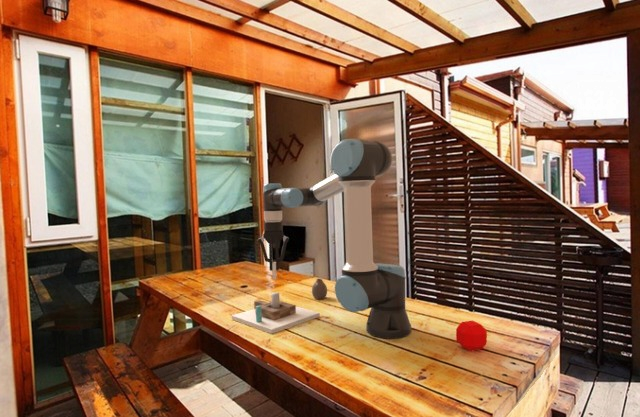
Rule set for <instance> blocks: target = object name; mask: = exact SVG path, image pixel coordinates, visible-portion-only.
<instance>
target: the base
mask: <svg viewBox="0 0 640 417" xmlns="http://www.w3.org/2000/svg"><path fill="white" fill-rule="evenodd" d="M270 300H271V308H273V309H276V308H279V307H280V301H281V300H280V292H272V293H271V294H270ZM319 317H321V316H320V312H318V311H314V310H310V309H307V308H303V307H300V306H296V313H294V314H291V315H288V316H285V317H282V318H279V319H276V320H272V319H269V318H265V317H262V311H261V306H256V312H255V309H254V308H253V309H250V310H246V311H243V312H239V313H236V314H232V315H231V320H232V321H234V322H235V321H236V322H238V323H241V324H244V325H246V326H248V327H252V328H254V329H257V330H259V331H263V332H266V333H268V334H274V333H277V332H281V331H284V330H286V329H289V328H292V327H294V326H297V325H300V324H303V323H306V322H309V321H311V320H315V319H317V318H319Z"/></svg>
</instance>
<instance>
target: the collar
mask: <svg viewBox="0 0 640 417" xmlns="http://www.w3.org/2000/svg"><path fill="white" fill-rule="evenodd" d="M253 303H254V304H253V307H254V308H253V309H255V312H256V306H261V311H262V317H265V318H269V319H272V320H276V319H279V318H282V317H285V316H288V315H291V314H294V313H296V307H297V306H296V304H292V303H288V302H284V301H281V300H280V307H279V308H276V309H273V308H271V302H270V301H269V302H267V301H264V300H261V299H257V300H254V301H253Z"/></svg>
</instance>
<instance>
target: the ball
mask: <svg viewBox="0 0 640 417" xmlns="http://www.w3.org/2000/svg"><path fill="white" fill-rule="evenodd" d="M487 336H488V331H487V329H486V328H485V326H483V325H482V324H481V323H480V322H476V321H475V320H465V321H461V322H460V323H459V324H458V326H457V327H456V330H455V338H456V339H455V341H456V342H457V343H458V344H459V345H460V346H461V347H462V346H463V348H464V349H466V350H468V351H469V350H470V351H469V352H473V351H472V350H474V351H478V350H477V349H480V350H482V349H483V348H484V347H486V346H487V341H488V340H487V338H488V337H487Z"/></svg>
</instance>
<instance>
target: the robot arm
mask: <svg viewBox="0 0 640 417" xmlns="http://www.w3.org/2000/svg"><path fill="white" fill-rule="evenodd" d="M329 162H330V164H329V165H330V169H331V171H332V172H333V174H332V175H330V176H328V177H326V178H324V179H323V180H321V181H319V182H317V183H316V184H314V185H312V186H310V187H285V188H284V187H283V186H282V184H281V183H280V182H279V183H265V184H263V188H262V189H263V192H262V196H263V198H262V200H263V221H264V222H263V231H264V232H263V234H262V236H261V237H259V238H258V239H257V242H258V244H260V247H261V252H262V255H263V257H264V261H265V262H267V263H268V264H269V271H272V272H271V273H272V280H277V271H279V270H280V263H281V262H282V261H284V258H285V252H286V248H287V245H288V244H287V243H288V242H289V241H290V238H289V237H288V236H286V235H285V234H284V231H283V227H284V226H283V221H282V220H283V208H289V209H294V208H299V207H319V206H323V205H325V204H326V202H327V201H328V200H329V199H331V198H333V197H335V196H337V195H339V194H341V193H343V208H344V209H343V211H344V214H343V215H344V237H345V238H344V240H345V243H344V244H345V263H344V265H343V266H342V267H341V276H339V277H338V278H337V279H336V281H335V283H334V292H335V294H334V295H335V297H336V299H337V301H338V303H339V304H340V305H341V307H342V308H344V309H345V311H349V312H351V313H357V312H363V311H366V310H368V309H370V311H369V315H368V318H367V320H366V327H365V328H366V330H365V331H366V332H367V333H368V334H369V335H371V336H373V337H377V338H382V339H400V338H405V337H407V336H409V335H410V334H411V333H412V324H411V322H410V318H409V316H408V312H407V310H406V272H405V271H406V270H405V268H404V267H403V266H401V265H398V264H391V263H379V262H378V263H377V262H374V252H373V250H374V249H373V221H372V220H373V217H372V213H373V212H372V190H371V188H372V186H373V184H375V183H376V179H377V178H380V177H382V176H384V175H385V174H386V173H388V171H389V170H390V168H391V166H392V163H393V155H392V151H391V150H390V148H389V147H388V146H387V145H386V144H385V143H383V142H381V141H376V140H366V139H360V138H346V139H342V140H340V141H339V142H338V143H337V144H336V145H335V147H333V149H332V151H331V154H330V160H329ZM282 240H283V245H282V247H281V254H280V253H279V244H280V243H281V241H282ZM265 241H266V243H267V244H268V248H269V250H268V254H267V250H266V245H265V243H264V242H265ZM273 245H275V248H274V249H275V261H273ZM279 254H280V256H279ZM268 257H269V258H268Z"/></svg>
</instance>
